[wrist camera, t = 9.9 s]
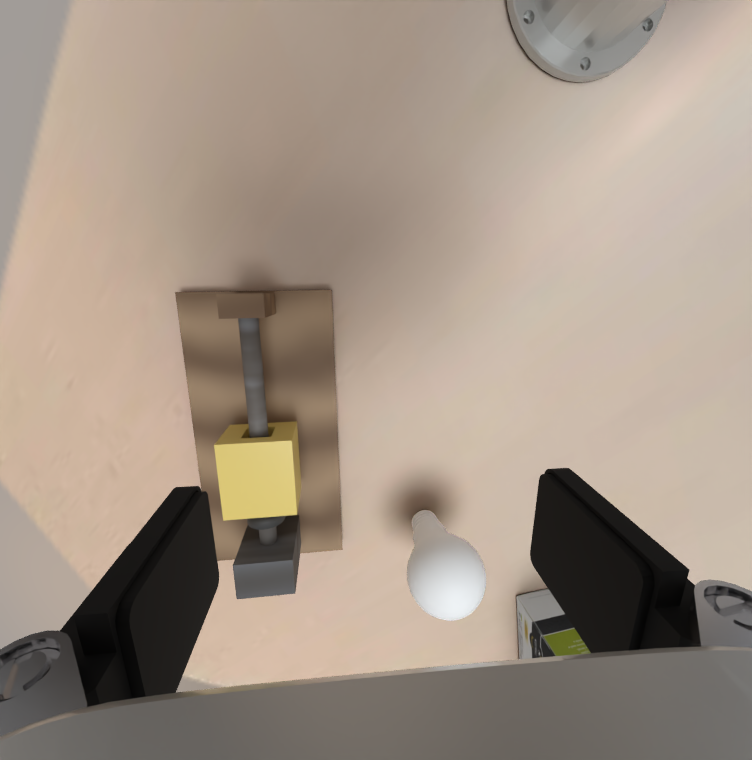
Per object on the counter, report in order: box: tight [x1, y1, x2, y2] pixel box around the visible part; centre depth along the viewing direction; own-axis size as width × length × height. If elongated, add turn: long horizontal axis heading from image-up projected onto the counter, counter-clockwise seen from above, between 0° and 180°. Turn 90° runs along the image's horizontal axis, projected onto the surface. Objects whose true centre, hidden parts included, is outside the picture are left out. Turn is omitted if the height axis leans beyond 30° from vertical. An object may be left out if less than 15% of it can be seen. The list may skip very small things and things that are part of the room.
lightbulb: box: [407, 510, 486, 621], centre depth 32 cm, size 6×6×11 cm
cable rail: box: [175, 290, 342, 599], centre depth 30 cm, size 24×12×7 cm, turn 1°
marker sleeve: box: [214, 421, 301, 521], centre depth 30 cm, size 6×5×4 cm
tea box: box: [517, 589, 591, 659], centre depth 36 cm, size 15×10×15 cm, turn 7°
